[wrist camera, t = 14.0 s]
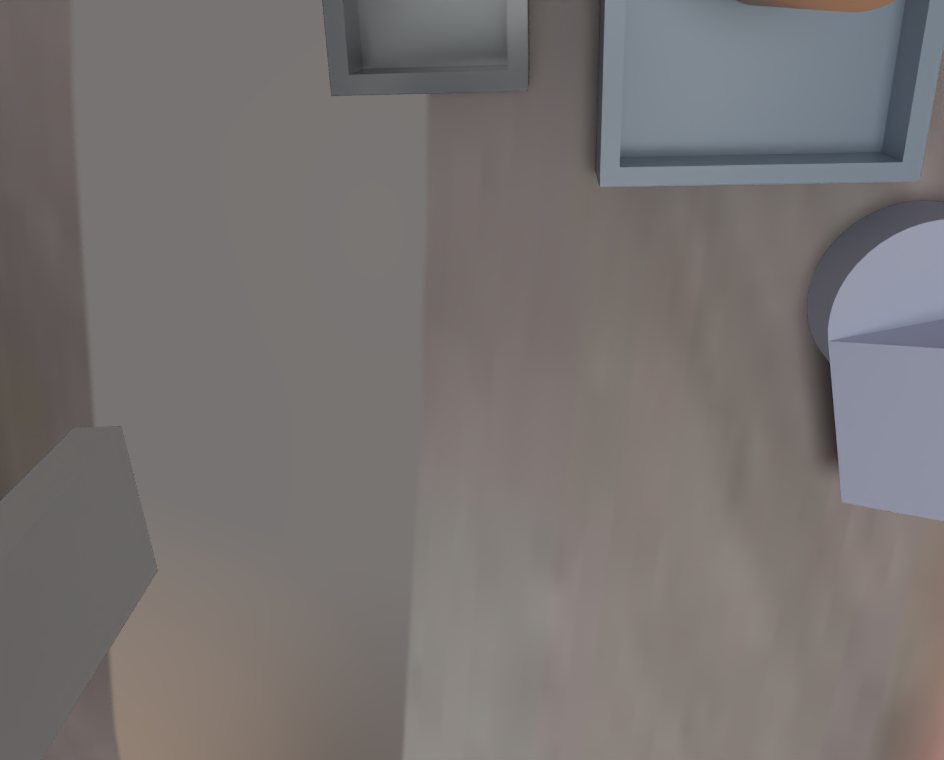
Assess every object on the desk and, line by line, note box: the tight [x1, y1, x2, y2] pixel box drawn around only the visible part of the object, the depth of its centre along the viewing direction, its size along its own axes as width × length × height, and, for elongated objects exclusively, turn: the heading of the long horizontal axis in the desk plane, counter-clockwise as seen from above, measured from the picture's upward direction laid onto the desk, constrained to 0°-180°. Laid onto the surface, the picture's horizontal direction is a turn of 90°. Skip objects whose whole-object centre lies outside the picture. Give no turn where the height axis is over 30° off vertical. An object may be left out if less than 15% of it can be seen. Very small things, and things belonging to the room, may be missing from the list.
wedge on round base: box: [807, 201, 944, 521], centre depth 38 cm, size 9×7×13 cm
